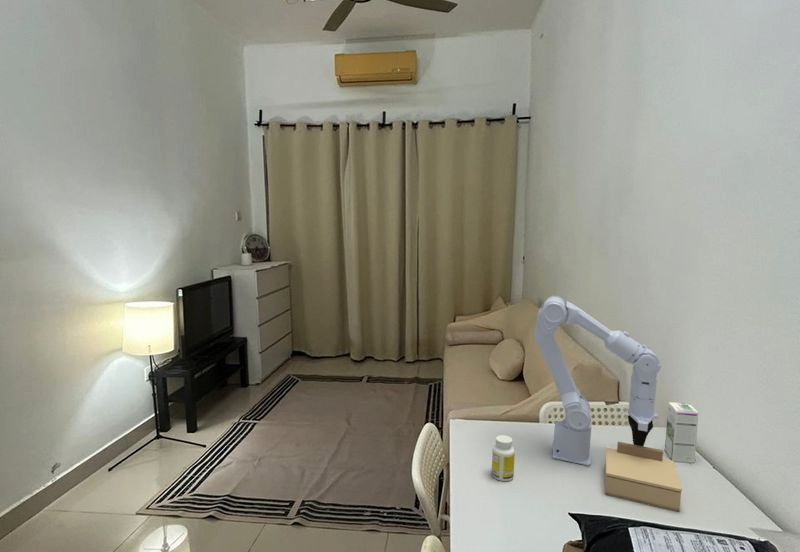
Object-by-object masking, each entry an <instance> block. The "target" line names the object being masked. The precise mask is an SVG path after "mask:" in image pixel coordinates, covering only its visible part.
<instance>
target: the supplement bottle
mask: <svg viewBox="0 0 800 552" xmlns="http://www.w3.org/2000/svg"><path fill="white" fill-rule="evenodd" d="M515 451H516V450H515V448H514V446H513V438H512V437H510V436H508V435H503V434H499V435H498V436H496V437H495V444H494V446H493V447H492V456H491V458H492V459H491V461H492V462H491V475H492V477H493V478H494V479H496V480H498V481H502V482H509V481H512V480H513V479H514V474H515V455H516V454H515V453H516V452H515Z"/></svg>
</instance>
